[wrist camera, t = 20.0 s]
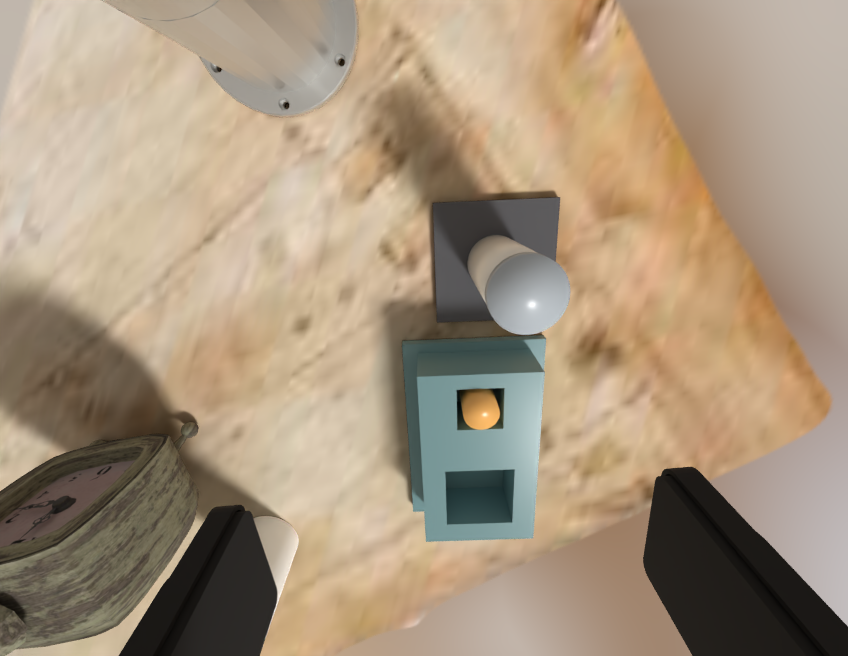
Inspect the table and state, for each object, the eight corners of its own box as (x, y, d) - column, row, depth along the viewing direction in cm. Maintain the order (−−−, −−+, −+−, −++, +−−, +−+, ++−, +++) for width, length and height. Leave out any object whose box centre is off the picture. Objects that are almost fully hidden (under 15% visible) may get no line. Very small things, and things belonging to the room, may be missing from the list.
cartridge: (465, 236, 35) (486, 257, 23) (523, 232, 35) (572, 251, 23) (467, 291, 37) (487, 337, 25) (522, 288, 37) (568, 332, 25)
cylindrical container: (235, 516, 47) (47, 846, 24) (294, 515, 47) (165, 845, 24) (245, 560, 50) (85, 898, 26) (302, 559, 49) (192, 897, 26)
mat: (432, 202, 35) (433, 203, 34) (557, 197, 34) (560, 197, 34) (436, 320, 38) (437, 322, 38) (549, 315, 38) (551, 317, 38)
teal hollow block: (402, 340, 39) (398, 367, 34) (543, 335, 39) (563, 360, 33) (413, 504, 46) (412, 549, 41) (532, 500, 46) (547, 545, 41)
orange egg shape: (458, 375, 38) (463, 398, 34) (492, 374, 38) (500, 397, 34) (459, 404, 39) (463, 430, 35) (491, 403, 39) (499, 429, 35)
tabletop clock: (204, 407, 42) (-76, 693, 18) (236, 474, 45) (30, 792, 22) (81, 432, 43) (-332, 731, 20) (120, 495, 46) (-196, 820, 23)
